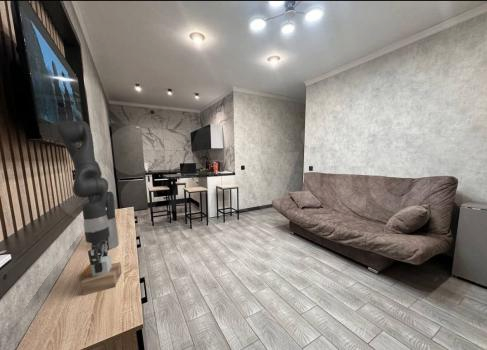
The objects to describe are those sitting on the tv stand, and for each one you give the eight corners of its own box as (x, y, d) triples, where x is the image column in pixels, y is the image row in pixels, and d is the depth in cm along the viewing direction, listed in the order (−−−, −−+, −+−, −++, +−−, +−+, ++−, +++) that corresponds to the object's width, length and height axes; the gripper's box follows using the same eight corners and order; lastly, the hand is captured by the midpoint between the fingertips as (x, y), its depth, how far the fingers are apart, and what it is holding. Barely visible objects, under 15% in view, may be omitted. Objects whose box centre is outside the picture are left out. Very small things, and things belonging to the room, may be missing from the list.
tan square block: (94, 279, 76) (92, 268, 75) (121, 272, 79) (120, 262, 79) (83, 295, 66) (81, 282, 66) (115, 286, 70) (113, 274, 70)
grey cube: (97, 269, 74) (96, 258, 74) (111, 266, 76) (110, 255, 75) (92, 276, 69) (90, 264, 69) (108, 273, 71) (106, 261, 71)
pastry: (98, 277, 77) (97, 269, 77) (78, 282, 75) (77, 274, 74) (104, 266, 86) (103, 258, 86) (86, 270, 83) (85, 263, 83)
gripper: (92, 223, 76) (97, 261, 78) (75, 236, 63) (82, 281, 64) (113, 220, 79) (118, 256, 80) (101, 232, 66) (107, 274, 67)
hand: (102, 267), depth 72 cm, fingers open, 6 cm apart
